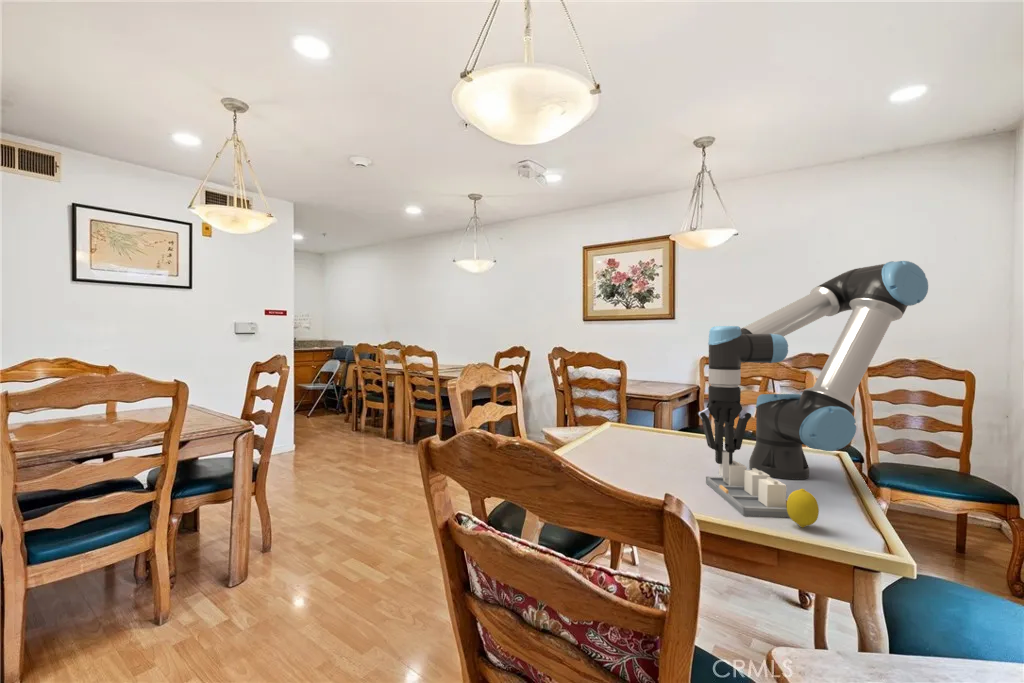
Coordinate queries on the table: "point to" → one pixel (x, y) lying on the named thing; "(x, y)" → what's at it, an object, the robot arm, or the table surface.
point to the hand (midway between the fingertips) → (723, 476)
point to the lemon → (802, 508)
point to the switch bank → (744, 500)
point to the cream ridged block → (753, 480)
